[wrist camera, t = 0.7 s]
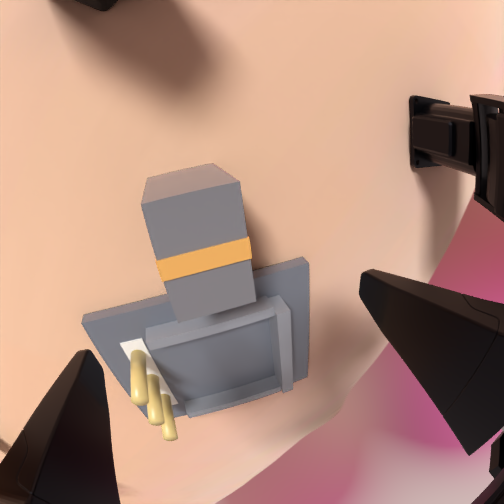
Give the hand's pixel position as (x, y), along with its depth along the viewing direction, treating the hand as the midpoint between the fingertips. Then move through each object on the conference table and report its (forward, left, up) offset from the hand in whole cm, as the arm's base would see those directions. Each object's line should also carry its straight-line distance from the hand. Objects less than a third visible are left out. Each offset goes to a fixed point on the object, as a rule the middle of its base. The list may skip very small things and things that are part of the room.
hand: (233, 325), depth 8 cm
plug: (0, 0, -11) cm, 11 cm away
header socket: (+1, +12, -10) cm, 16 cm away
